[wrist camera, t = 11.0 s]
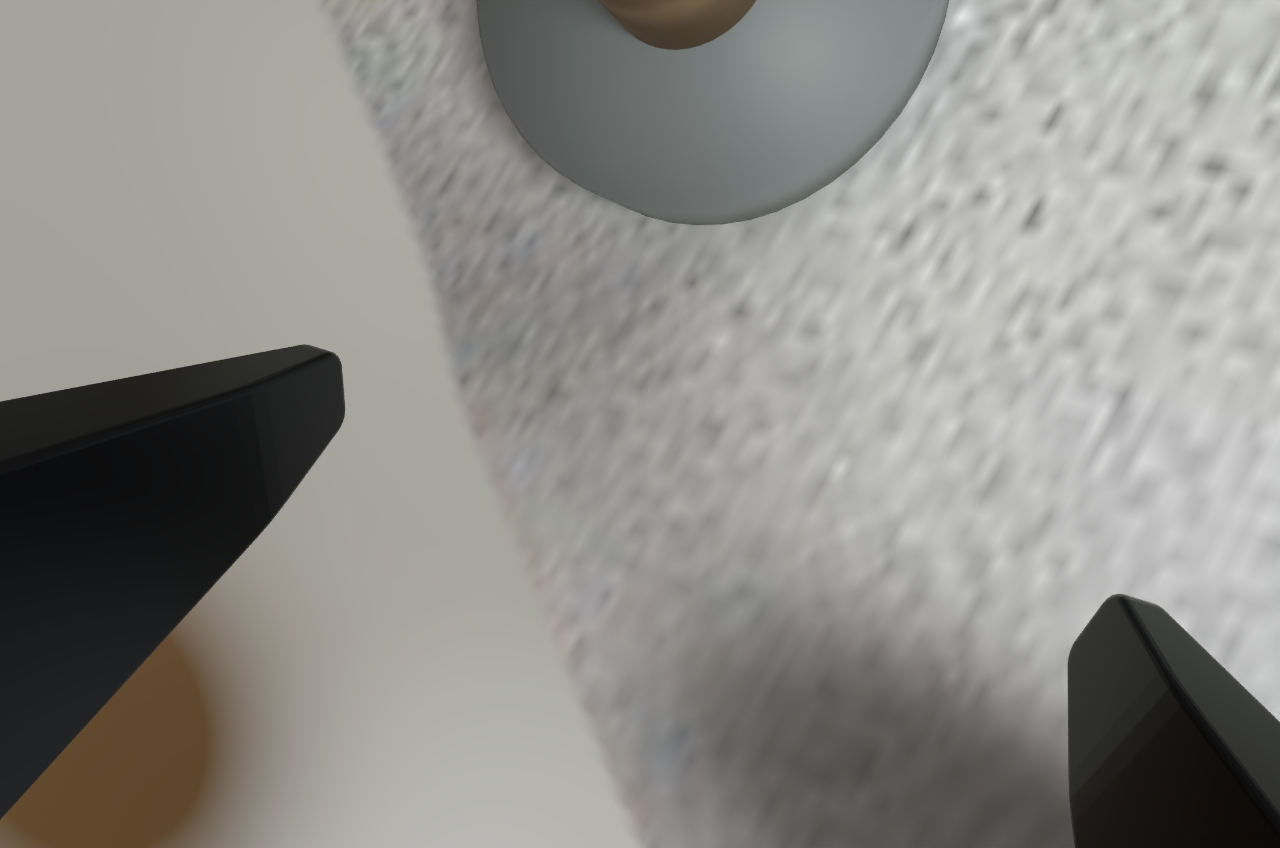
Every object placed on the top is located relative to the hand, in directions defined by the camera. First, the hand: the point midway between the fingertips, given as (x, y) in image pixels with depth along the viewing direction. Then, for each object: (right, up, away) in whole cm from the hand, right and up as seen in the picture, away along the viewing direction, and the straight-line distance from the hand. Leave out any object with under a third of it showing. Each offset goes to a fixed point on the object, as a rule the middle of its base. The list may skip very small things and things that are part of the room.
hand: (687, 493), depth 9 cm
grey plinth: (+1, +11, +10) cm, 15 cm away
